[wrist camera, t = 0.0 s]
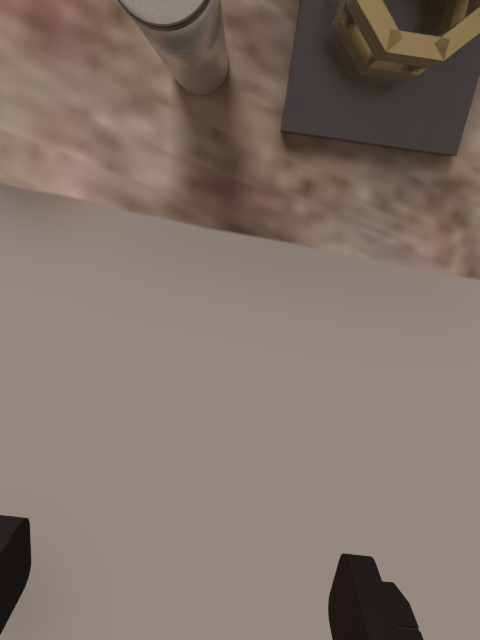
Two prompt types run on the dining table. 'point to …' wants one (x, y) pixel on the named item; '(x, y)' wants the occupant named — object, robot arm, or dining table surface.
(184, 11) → the metal thermos flask
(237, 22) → the dining table surface
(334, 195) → the dining table surface
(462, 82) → the collar stand
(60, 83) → the dining table surface
